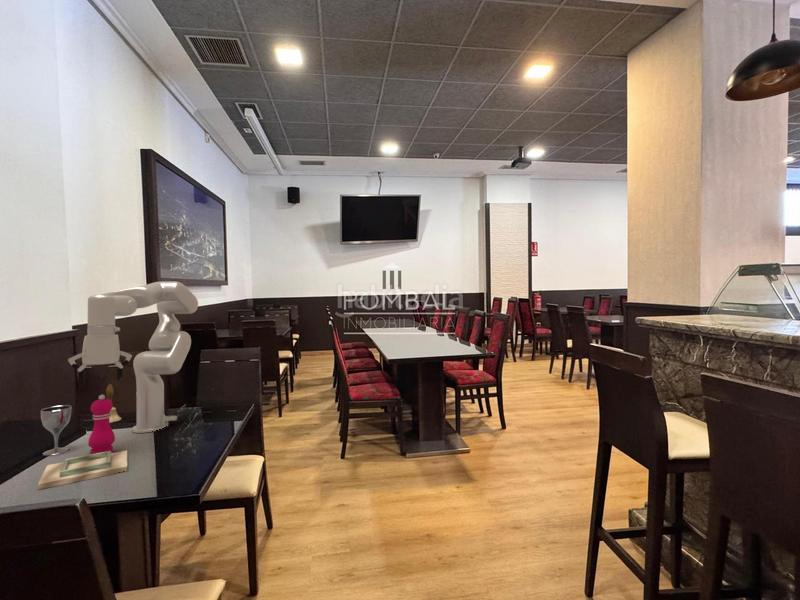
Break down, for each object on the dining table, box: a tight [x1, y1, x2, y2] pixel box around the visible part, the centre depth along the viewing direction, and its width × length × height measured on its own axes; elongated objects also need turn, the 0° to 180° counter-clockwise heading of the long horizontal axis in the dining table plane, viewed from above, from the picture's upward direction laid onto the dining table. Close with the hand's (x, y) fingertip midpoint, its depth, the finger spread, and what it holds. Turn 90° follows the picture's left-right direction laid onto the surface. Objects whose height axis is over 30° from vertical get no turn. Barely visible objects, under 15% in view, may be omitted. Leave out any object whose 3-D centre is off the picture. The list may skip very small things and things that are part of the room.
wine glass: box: [40, 404, 72, 456], centre depth 134 cm, size 8×8×15 cm
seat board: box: [37, 450, 128, 491], centre depth 118 cm, size 20×16×3 cm
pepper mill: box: [87, 394, 116, 455], centre depth 132 cm, size 7×7×20 cm
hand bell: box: [105, 384, 122, 424], centre depth 170 cm, size 8×8×16 cm
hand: (101, 381), depth 132 cm, fingers open, 9 cm apart
